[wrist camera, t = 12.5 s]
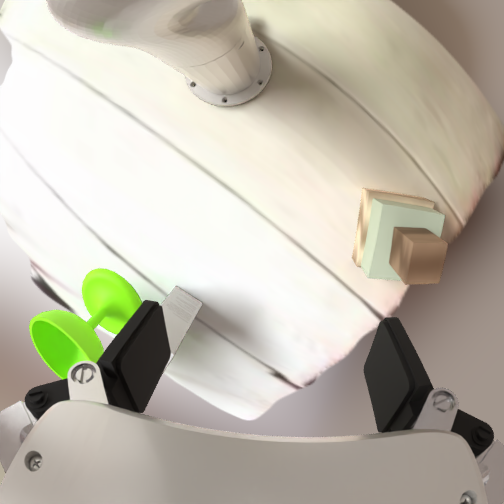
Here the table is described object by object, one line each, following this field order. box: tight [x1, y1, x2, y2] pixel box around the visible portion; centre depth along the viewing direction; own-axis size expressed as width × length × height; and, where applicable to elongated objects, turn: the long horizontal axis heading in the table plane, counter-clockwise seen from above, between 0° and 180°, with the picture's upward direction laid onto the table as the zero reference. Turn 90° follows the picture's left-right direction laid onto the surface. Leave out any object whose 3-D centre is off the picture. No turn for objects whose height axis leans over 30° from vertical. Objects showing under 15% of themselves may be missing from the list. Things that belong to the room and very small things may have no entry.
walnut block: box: [389, 227, 448, 285], centre depth 28 cm, size 5×5×6 cm
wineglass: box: [29, 268, 142, 380], centre depth 41 cm, size 16×16×18 cm
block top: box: [361, 198, 445, 281], centre depth 33 cm, size 10×10×4 cm
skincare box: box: [160, 286, 203, 376], centre depth 41 cm, size 8×6×15 cm
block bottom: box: [352, 188, 435, 267], centre depth 37 cm, size 11×11×4 cm
